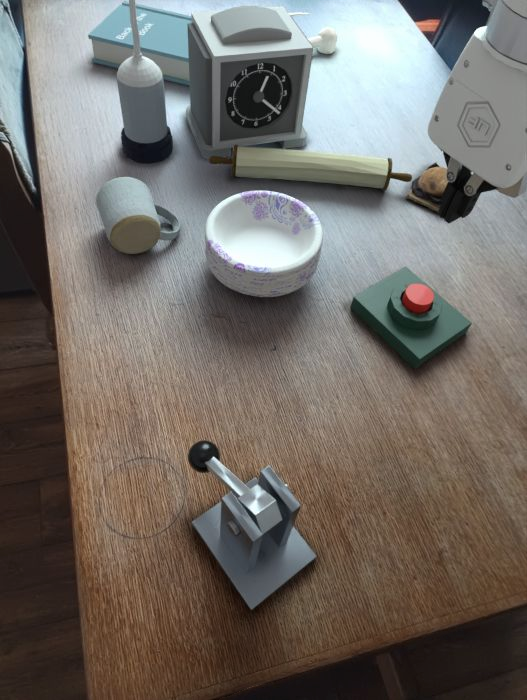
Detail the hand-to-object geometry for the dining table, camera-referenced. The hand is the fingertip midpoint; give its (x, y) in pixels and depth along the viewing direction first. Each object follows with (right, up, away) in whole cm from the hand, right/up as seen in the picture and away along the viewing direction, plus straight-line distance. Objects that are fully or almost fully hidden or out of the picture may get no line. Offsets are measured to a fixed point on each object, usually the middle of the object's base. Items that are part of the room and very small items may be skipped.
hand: (451, 214), depth 57 cm
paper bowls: (-20, -3, +19) cm, 28 cm away
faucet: (-13, +45, +54) cm, 71 cm away
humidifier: (-39, +19, +33) cm, 54 cm away
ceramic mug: (-37, +2, +21) cm, 43 cm away
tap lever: (-22, -28, -6) cm, 36 cm away
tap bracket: (-21, -33, -3) cm, 40 cm away
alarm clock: (-23, +24, +38) cm, 50 cm away
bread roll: (+9, +12, +32) cm, 35 cm away
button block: (0, -10, +16) cm, 19 cm away
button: (0, -8, +13) cm, 15 cm away
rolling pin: (-12, +13, +31) cm, 36 cm away
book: (-39, +43, +50) cm, 77 cm away
